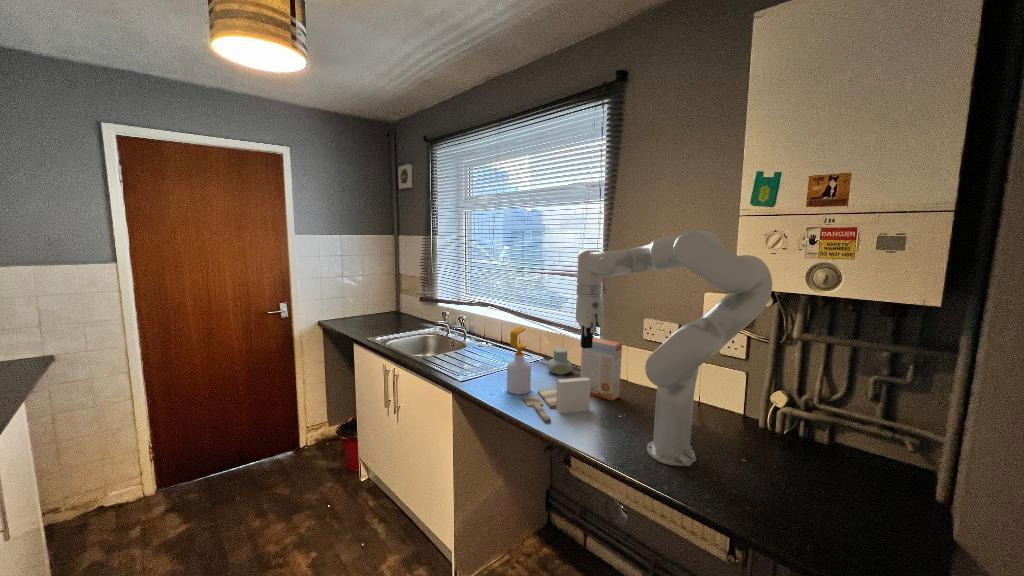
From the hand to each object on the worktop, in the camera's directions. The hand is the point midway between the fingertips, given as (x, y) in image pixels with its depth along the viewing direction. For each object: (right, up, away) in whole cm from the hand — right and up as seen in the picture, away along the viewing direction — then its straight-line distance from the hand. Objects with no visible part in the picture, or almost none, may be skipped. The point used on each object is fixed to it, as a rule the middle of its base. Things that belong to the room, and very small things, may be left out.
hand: (586, 347), depth 134 cm
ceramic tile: (-3, -23, +12) cm, 27 cm away
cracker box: (+10, -22, +27) cm, 36 cm away
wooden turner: (-14, -23, +12) cm, 30 cm away
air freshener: (-3, -18, +50) cm, 53 cm away
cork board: (-5, -22, +22) cm, 31 cm away
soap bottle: (-21, -21, +29) cm, 41 cm away
